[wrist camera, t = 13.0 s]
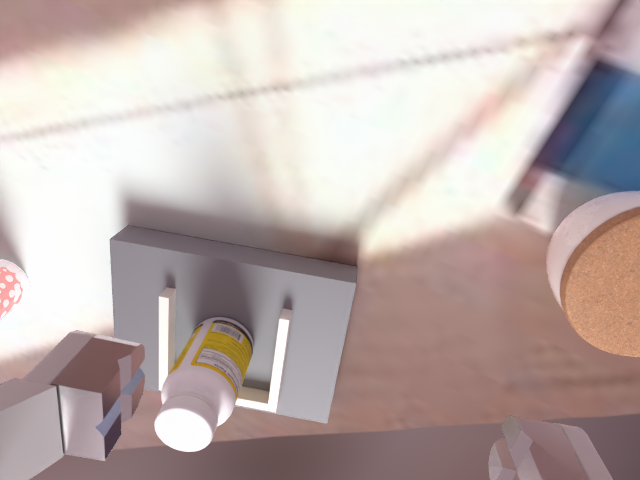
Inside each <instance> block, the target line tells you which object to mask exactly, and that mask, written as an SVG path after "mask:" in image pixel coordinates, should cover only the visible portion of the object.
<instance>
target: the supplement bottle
mask: <svg viewBox="0 0 640 480" xmlns="http://www.w3.org/2000/svg"><path fill="white" fill-rule="evenodd" d="M253 349H254V345H253V340H252V337H251V335H250V333H249V332H248V330H247V329H246V328H245V327H244V326H243V325H241V324H240V323H239V322H237V321H235V320H232V319H230V318H225V317H214V318H209V319H207V320H205V321H203V322H201V323H200V324H199V325H198V326H197V327H196V329H195V330H194V332H193V333H192V335H191V337H190V338H189V340H188V342H187V344H186V345H185V347H184V349H183V350H182V352H181V354H180V356H179V357H178V359H177V361H176V362H175V364H174V366H173V368H172V369H171V371H170V373H169V374H168V376H167V378H166V380H165V382H164V384H163V387H162V391H161V399H162V403H163V405H162V407H161V409H160V411H159V413H158V415H157V417H156V419H155V431H156V433H157V435H158V437H159V438H160V439H161V440H162V441H163V442H164V443H165V444H167V445H168V446H170V447H172V448H174V449H177V450H180V451H185V452H193V451H198V450H201V449H203V448H205V447H206V446H207V445H208V444H209V443H210V442H211V440H212V437H213V435H214V433H215V430H216V428H217V426H219V425H221V424H222V423H224V422H225V421H226V420H227V419H228V418H229V416H230V415H231V413H232V411H233V409H234V406H235V404H236V401H237V398H238V395H239V392H240V389H241V386H242V383H243V381H244V378H245V375H246V372H247V369H248V366H249V363H250V361H251V357H252V354H253Z"/></svg>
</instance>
